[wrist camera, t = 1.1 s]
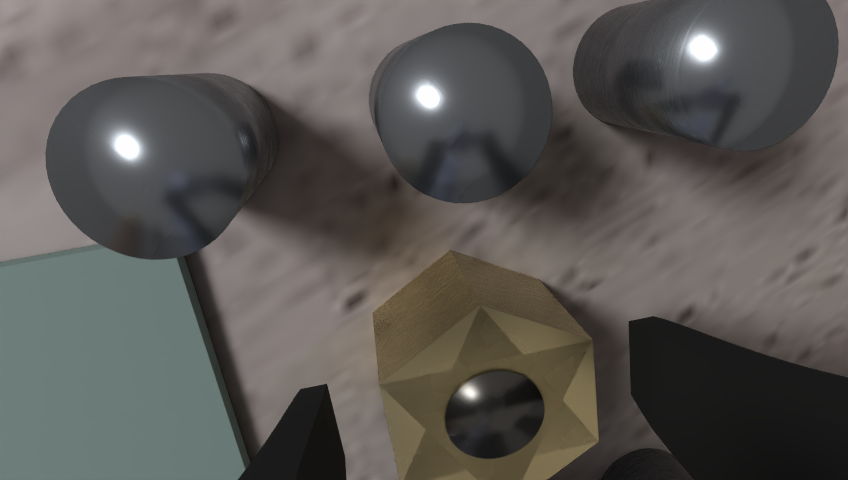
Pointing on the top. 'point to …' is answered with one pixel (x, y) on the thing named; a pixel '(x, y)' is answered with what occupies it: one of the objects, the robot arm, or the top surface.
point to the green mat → (110, 373)
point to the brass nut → (483, 375)
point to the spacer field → (444, 121)
